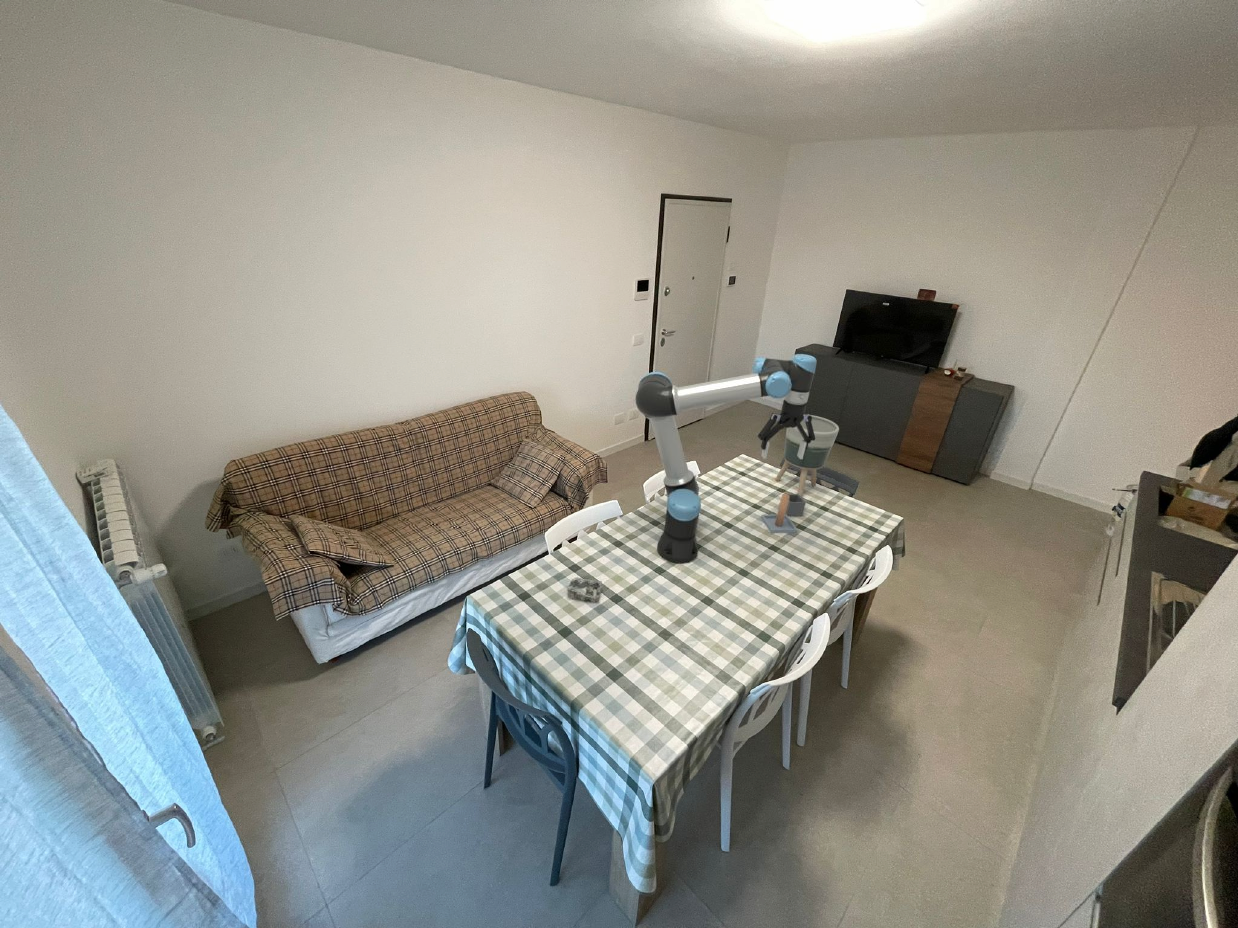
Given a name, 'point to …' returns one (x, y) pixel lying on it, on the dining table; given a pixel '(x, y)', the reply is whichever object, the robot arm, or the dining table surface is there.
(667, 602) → the dining table surface
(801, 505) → the pen pot
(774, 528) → the tray
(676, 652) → the dining table surface
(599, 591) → the egg carton
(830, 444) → the planter
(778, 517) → the dowel
